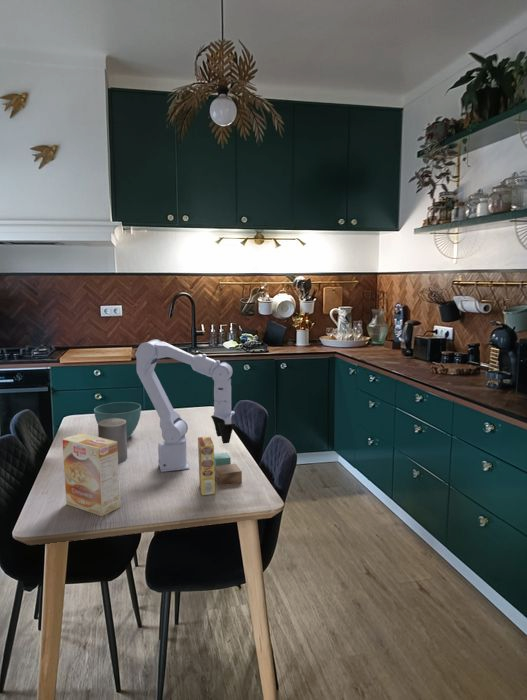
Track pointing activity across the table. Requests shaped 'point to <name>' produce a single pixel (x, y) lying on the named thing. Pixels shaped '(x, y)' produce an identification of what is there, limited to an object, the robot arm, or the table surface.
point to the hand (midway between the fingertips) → (223, 439)
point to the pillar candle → (115, 435)
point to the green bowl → (120, 414)
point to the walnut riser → (228, 474)
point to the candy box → (206, 465)
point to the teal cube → (221, 459)
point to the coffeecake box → (91, 473)
